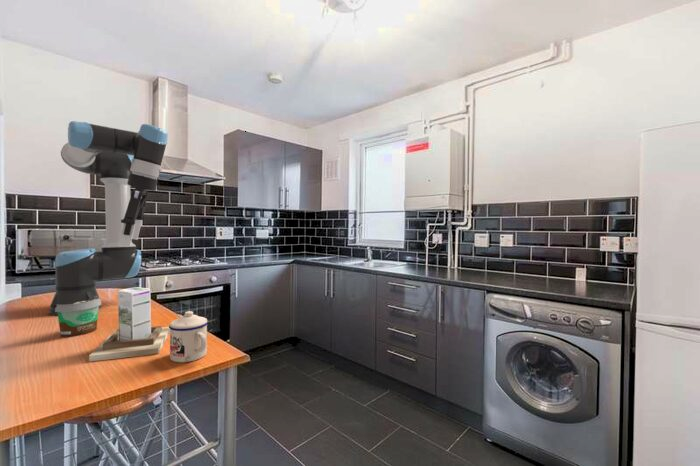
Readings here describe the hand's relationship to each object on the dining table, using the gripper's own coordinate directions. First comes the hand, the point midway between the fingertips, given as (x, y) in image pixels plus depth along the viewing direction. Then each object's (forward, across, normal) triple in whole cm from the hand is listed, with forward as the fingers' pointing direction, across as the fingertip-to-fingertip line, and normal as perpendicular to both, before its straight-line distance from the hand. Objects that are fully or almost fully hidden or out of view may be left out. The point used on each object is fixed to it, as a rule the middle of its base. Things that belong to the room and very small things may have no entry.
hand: (128, 242), depth 99 cm
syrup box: (+25, -15, -9) cm, 30 cm away
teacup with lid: (+22, -30, -23) cm, 44 cm away
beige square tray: (+26, -15, -9) cm, 31 cm away
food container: (+31, +2, +6) cm, 31 cm away
